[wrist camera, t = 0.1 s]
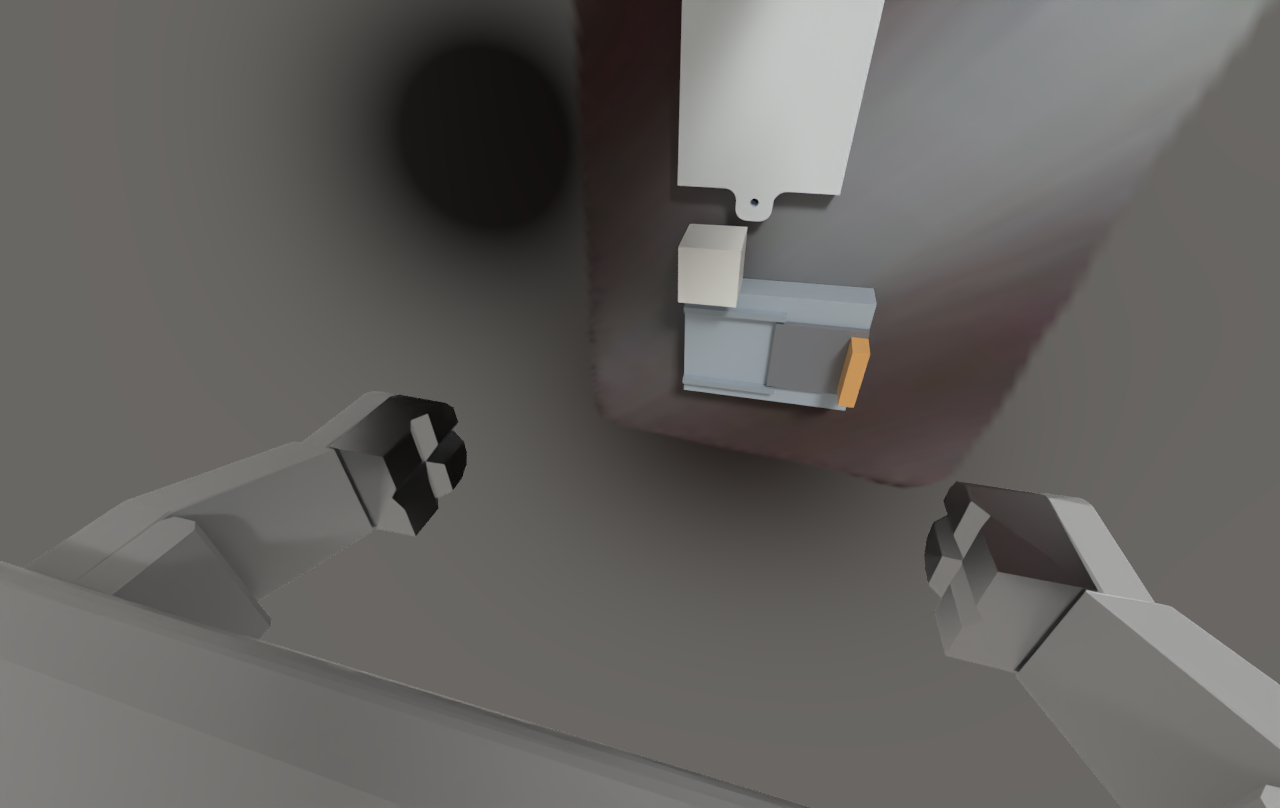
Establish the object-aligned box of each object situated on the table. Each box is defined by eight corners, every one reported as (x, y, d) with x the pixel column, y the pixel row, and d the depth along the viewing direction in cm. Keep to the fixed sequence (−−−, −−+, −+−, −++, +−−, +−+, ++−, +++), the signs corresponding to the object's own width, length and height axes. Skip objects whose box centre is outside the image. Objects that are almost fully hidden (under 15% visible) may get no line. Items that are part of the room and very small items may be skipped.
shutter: (776, 320, 46) (774, 338, 43) (869, 329, 44) (872, 348, 42) (766, 382, 50) (764, 401, 48) (850, 392, 49) (852, 412, 46)
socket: (691, 274, 48) (683, 292, 45) (873, 288, 45) (877, 309, 42) (689, 373, 56) (682, 394, 53) (843, 392, 52) (845, 415, 50)
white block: (692, 217, 45) (678, 246, 40) (749, 220, 44) (741, 251, 39) (691, 269, 48) (678, 302, 43) (744, 273, 47) (736, 307, 42)
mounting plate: (689, -67, 33) (683, -69, 32) (899, -78, 30) (903, -80, 29) (681, 208, 45) (676, 215, 43) (831, 218, 42) (832, 226, 41)
